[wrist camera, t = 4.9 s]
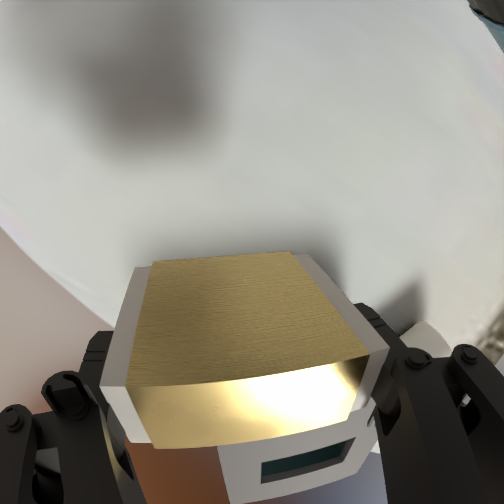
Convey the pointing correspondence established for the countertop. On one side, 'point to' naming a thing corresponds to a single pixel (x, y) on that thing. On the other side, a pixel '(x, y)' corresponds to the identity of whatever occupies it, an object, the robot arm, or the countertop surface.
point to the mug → (426, 340)
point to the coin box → (297, 459)
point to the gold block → (239, 352)
